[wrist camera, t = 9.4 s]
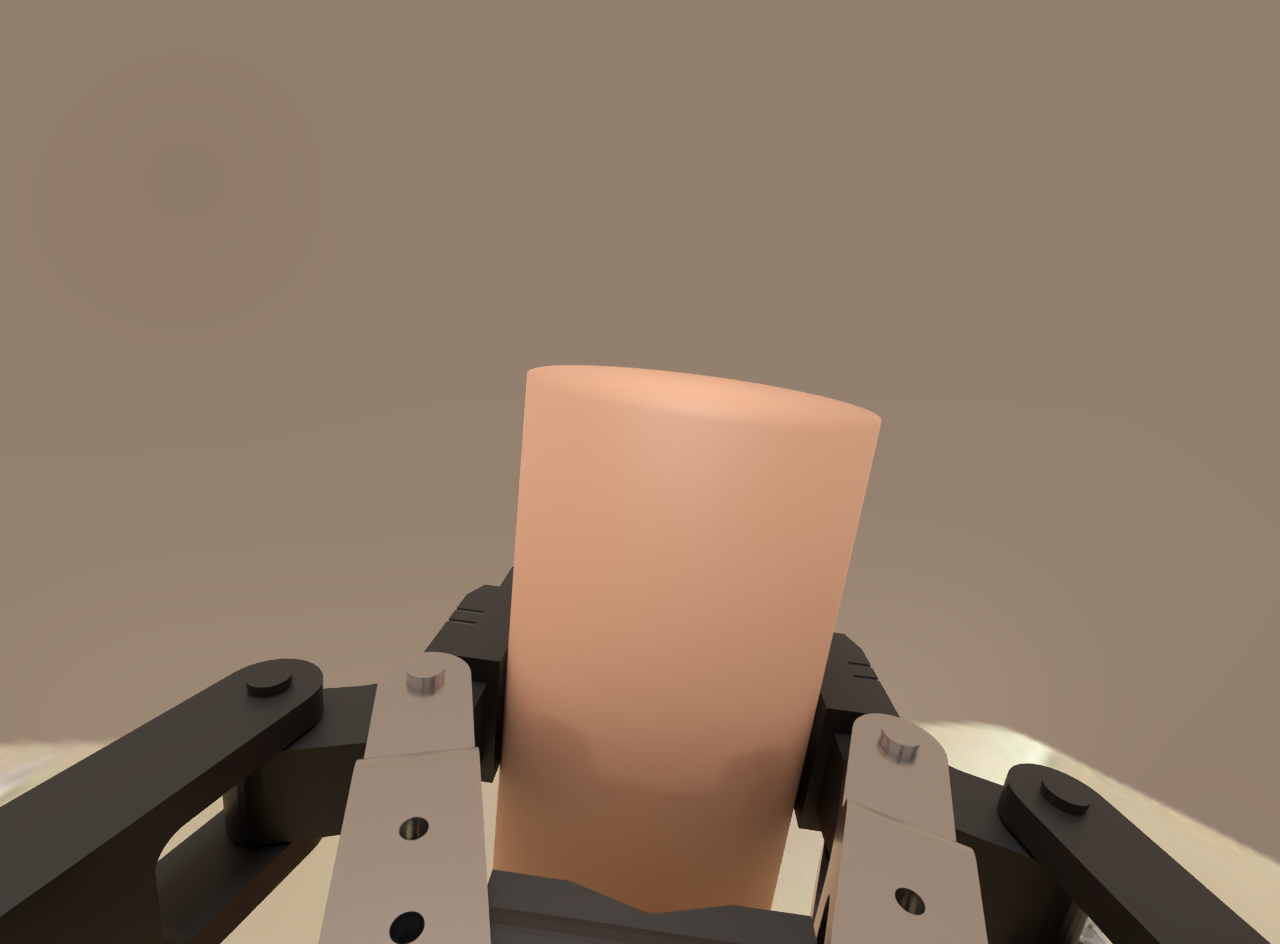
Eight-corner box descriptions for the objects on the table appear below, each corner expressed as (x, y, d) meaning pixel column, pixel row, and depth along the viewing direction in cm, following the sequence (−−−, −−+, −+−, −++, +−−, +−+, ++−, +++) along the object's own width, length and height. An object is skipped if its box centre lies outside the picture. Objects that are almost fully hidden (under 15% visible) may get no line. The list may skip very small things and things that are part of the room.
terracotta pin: (728, 893, 14) (829, 391, 11) (755, 1193, 9) (949, 449, 6) (520, 863, 14) (563, 357, 11) (441, 1143, 9) (477, 389, 6)
